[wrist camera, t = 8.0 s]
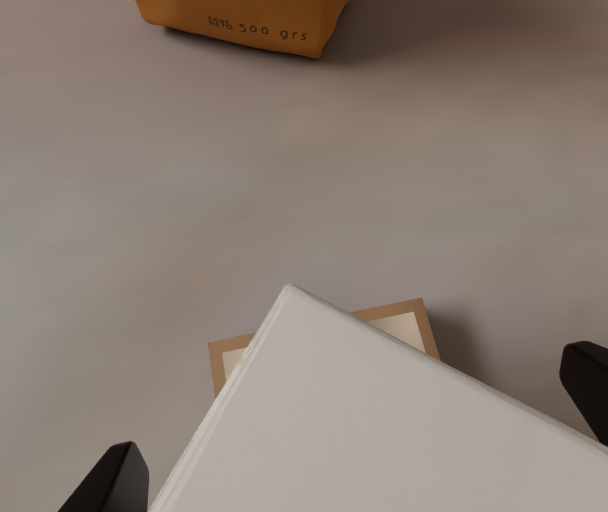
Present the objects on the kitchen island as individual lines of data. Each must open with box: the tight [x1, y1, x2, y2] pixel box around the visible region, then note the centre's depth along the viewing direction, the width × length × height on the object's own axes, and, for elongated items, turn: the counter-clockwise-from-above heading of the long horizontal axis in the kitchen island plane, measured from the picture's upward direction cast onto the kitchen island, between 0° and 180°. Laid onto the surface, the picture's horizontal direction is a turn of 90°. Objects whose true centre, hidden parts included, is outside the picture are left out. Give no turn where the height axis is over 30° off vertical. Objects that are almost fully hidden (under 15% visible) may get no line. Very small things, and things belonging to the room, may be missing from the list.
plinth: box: [208, 298, 441, 398], centre depth 17 cm, size 9×9×2 cm
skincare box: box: [148, 283, 608, 512], centre depth 10 cm, size 6×4×12 cm
